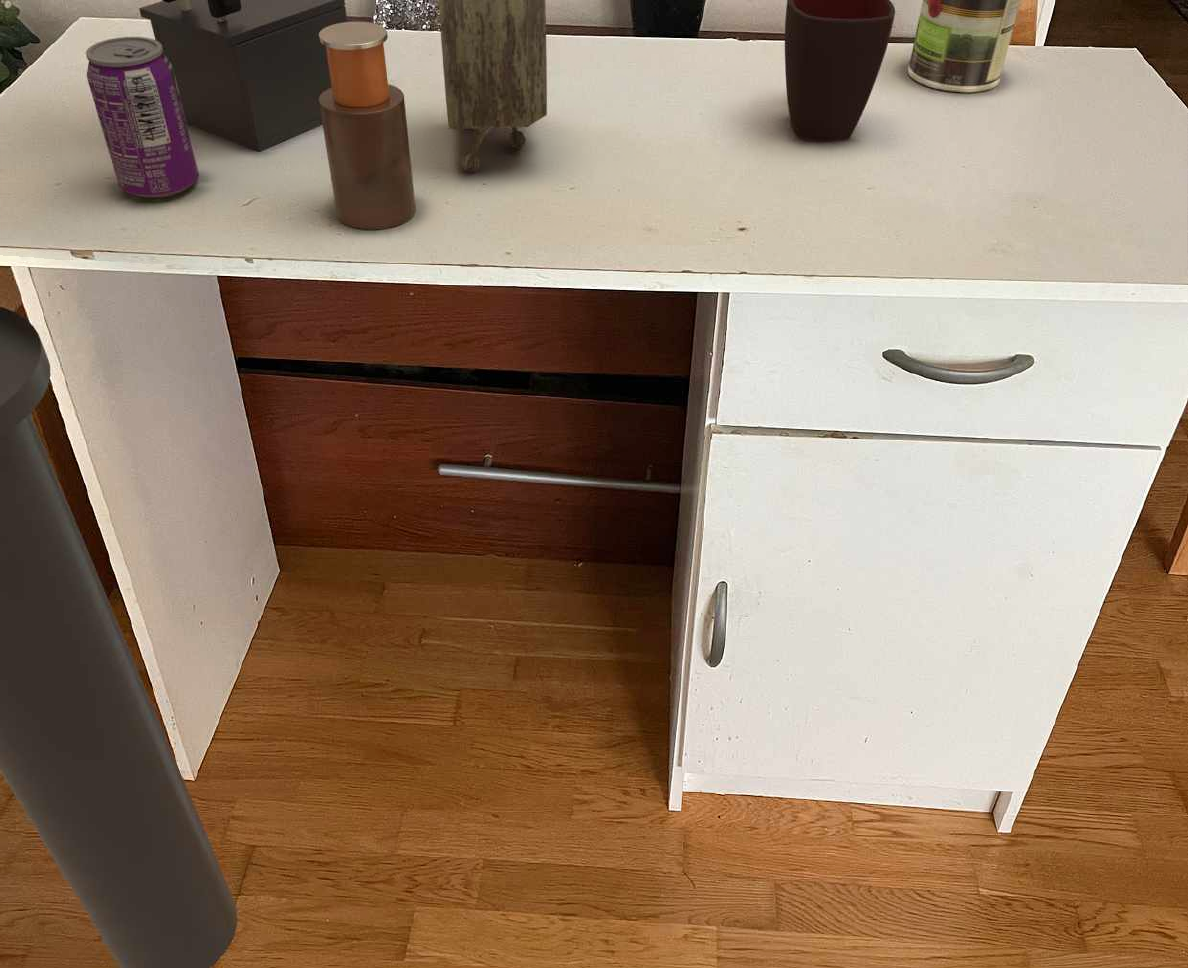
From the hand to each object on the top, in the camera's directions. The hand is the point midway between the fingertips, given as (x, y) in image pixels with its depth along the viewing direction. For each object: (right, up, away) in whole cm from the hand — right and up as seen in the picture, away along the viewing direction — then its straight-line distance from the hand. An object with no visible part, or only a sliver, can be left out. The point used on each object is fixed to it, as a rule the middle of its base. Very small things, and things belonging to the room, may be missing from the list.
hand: (201, 4), depth 103 cm
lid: (+3, +1, +4) cm, 5 cm away
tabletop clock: (+27, -11, +6) cm, 30 cm away
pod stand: (+17, -21, -4) cm, 27 cm away
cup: (+60, -6, +12) cm, 61 cm away
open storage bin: (+3, -5, +11) cm, 13 cm away
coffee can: (+77, +3, +21) cm, 80 cm away
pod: (+17, -13, -11) cm, 24 cm away
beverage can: (-3, -17, -1) cm, 18 cm away
